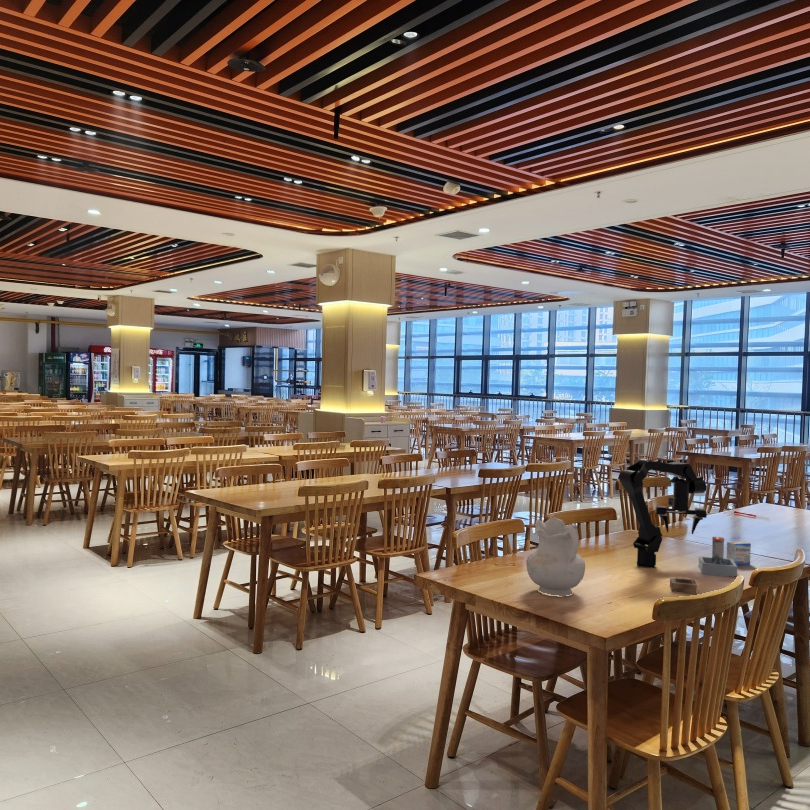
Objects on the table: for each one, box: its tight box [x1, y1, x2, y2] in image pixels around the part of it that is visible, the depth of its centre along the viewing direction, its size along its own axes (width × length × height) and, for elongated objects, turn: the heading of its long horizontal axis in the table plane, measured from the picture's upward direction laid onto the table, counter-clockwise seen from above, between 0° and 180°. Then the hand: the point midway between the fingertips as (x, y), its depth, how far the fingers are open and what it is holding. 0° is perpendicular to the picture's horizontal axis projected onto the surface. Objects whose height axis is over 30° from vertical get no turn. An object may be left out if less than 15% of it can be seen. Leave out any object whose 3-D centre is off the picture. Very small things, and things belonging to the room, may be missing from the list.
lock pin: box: [711, 536, 725, 565], centre depth 268 cm, size 4×4×12 cm
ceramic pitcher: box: [525, 516, 586, 596], centre depth 234 cm, size 22×20×25 cm
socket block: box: [669, 576, 698, 595], centre depth 242 cm, size 8×8×3 cm
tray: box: [697, 555, 738, 578], centre depth 268 cm, size 12×12×4 cm
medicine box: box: [726, 541, 752, 566], centre depth 282 cm, size 8×4×9 cm, turn 105°
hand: (679, 533), depth 280 cm, fingers open, 9 cm apart
